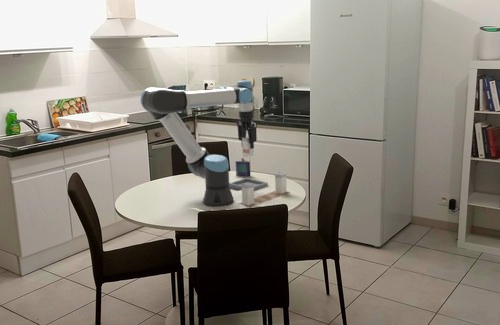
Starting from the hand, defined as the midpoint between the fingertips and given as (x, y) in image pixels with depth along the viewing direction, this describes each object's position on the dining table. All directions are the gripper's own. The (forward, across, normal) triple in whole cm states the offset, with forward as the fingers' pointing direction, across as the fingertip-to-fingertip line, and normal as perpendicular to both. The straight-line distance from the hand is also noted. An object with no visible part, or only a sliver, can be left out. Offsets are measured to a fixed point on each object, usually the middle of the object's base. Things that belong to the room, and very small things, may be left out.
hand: (248, 153), depth 271 cm
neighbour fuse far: (+18, -21, -2) cm, 28 cm away
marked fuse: (+1, 0, 0) cm, 1 cm away
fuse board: (+19, -21, +10) cm, 30 cm away
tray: (+19, +1, 0) cm, 19 cm away
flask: (+19, +21, -15) cm, 33 cm away
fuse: (+18, -22, +22) cm, 35 cm away
